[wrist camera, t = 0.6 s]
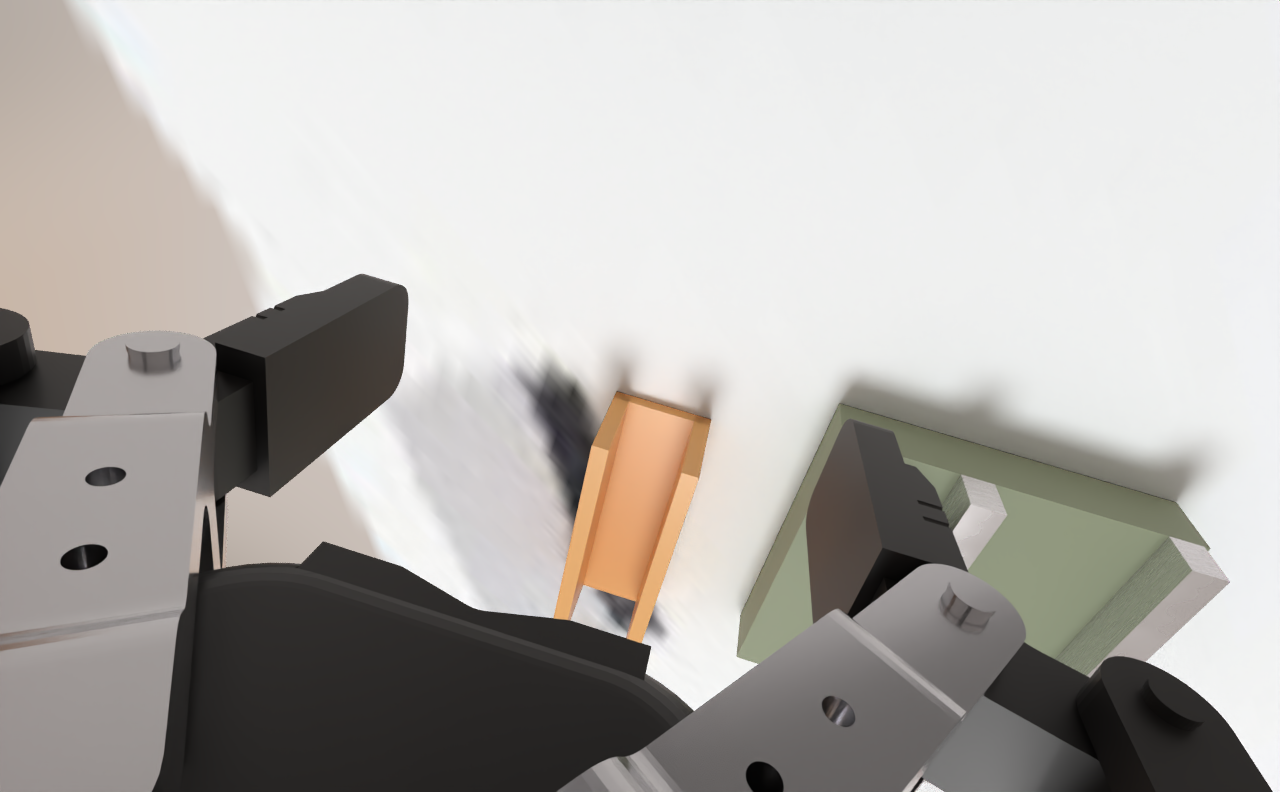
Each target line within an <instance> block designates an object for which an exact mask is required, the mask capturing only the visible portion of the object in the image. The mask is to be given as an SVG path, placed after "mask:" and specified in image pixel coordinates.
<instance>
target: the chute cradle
mask: <svg viewBox="0 0 1280 792" xmlns="http://www.w3.org/2000/svg"><path fill="white" fill-rule="evenodd" d="M942 507H943V508H942V511H944V512H945V514H946V517H947V519H948V522H949V528H951V529H952V532H953V534H954V537H955V539H956V542H957V544H958V547H959V549H960V552H961V555H962V557H963V560H964V562H965V565H966V567H967V570H968V569H969V567H970V566H971V565H972V563H973V562H974V561H975V559H976V558H977V556H978V555H979V554H980V552H981V551H982V550H983V548H984V547H985V545H986V544H987V543H988V541H989V540H990V538H991V537H992V536H993V534H994V533H995V532H996V530H997V529H998V527H999V526H1000V525H1001V523H1002V522H1003V520H1004V519H1005V518H1006V516H1007V513H1006V511H1005V508H1004V506H1003V503H1002V501H1001V498H1000V495H999V493H998V490H997V488H996V485H995V484H992V483H988V482H985V481H982V480H978V479H975V478H972V477H968V476H965V475H962V474H961V475H960V477H959V478H958V480H957V481H956V483H955V484H954V486H953V488H952V489H951V491H950V492H949V494H948V495H947V497H946V499H945V500H944V502H943V503H942ZM1229 583H1230V581H1229V580H1228V578H1227V577H1226V576H1225V574H1224V573H1223V571H1222V570H1221V569H1220V567H1219V566H1218V565H1217V563H1216V562H1215V560H1214V559H1213V558H1212V556H1211V555H1210V554H1209V552H1208V551H1207V550H1206V548H1205V547H1204V546H1200V545H1197V544H1193V543H1190V542H1187V541H1183V540H1180V539H1177V538H1173V537H1170V536H1169V537H1168V538H1167V539H1166V540H1165V541H1164V542H1163V543H1162V544H1161V545H1160V547H1159V548H1158V549H1157V550H1156V551H1155V552H1154V553H1153V554H1152V555H1151V556H1150V557H1149V558H1148V559H1147V560H1146V562H1145V563H1144V564H1143V565H1142V566H1141V567H1140V568H1139V569H1138V570H1137V571H1136V572H1135V573H1134V574H1133V575H1132V577H1131V578H1130V579H1129V580H1128V581H1127V582H1126V583H1125V584H1124V585H1123V586H1122V587H1121V588H1120V589H1119V590H1118V592H1117V593H1116V594H1115V595H1114V596H1113V597H1112V598H1111V599H1110V600H1109V601H1108V602H1107V603H1106V604H1105V605H1104V607H1103V608H1102V609H1101V610H1100V611H1099V612H1098V613H1097V614H1096V615H1095V616H1094V617H1093V618H1092V619H1091V620H1090V622H1089V623H1088V624H1087V625H1086V626H1085V627H1084V628H1083V629H1082V630H1081V631H1080V632H1079V633H1078V634H1077V635H1076V637H1075V638H1074V639H1073V640H1072V641H1071V642H1070V643H1069V644H1068V645H1067V646H1066V647H1065V648H1064V649H1063V650H1062V652H1061V653H1060V654H1059V655H1058V656H1057V657H1056V658H1055V660H1057V661H1059V662H1061V663H1063V664H1065V665H1067V666H1069V667H1071V668H1073V669H1074V670H1076V671H1078V672H1080V673H1082V674H1084V675H1086V676H1088V677H1091V676H1092V675H1093V673H1094V672H1095V671H1096V670H1097V669H1098V667H1099V666H1100V665H1101V664H1102V662H1103V661H1104V660H1106V659H1107V658H1109V657H1113V656H1124V657H1130V658H1134V659H1138V660H1141V661H1144V662H1146V661H1147V660H1148V659H1149V658H1150V657H1151V656H1152V655H1153V654H1154V653H1155V652H1156V651H1157V650H1158V649H1159V648H1161V647H1162V646H1163V645H1164V644H1165V643H1166V642H1167V641H1168V640H1169V639H1170V638H1171V637H1172V636H1173V635H1174V634H1175V633H1176V632H1178V631H1179V630H1180V629H1181V628H1182V627H1183V626H1184V625H1185V624H1186V623H1187V622H1188V621H1189V620H1190V619H1191V618H1192V617H1193V616H1195V615H1196V614H1197V613H1198V612H1199V611H1200V610H1201V609H1202V608H1203V607H1204V606H1205V605H1206V604H1207V603H1208V602H1209V601H1211V600H1212V599H1213V598H1214V597H1215V596H1216V595H1217V594H1218V593H1219V592H1220V591H1221V590H1222V589H1223V588H1224V587H1225V586H1226V585H1228V584H1229Z"/></svg>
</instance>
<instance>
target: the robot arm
mask: <svg viewBox="0 0 1280 792" xmlns="http://www.w3.org/2000/svg"><path fill="white" fill-rule="evenodd" d="M407 315H408V293H407V290H406V288H405V287H404V286H402V285H399V284H396V283H392V282H389V281H386V280H382V279H379V278H375V277H372V276H369V275H365V274H359V275H356V276H354V277H352V278H350V279H348V280H346V281H344V282H342V283H340V284H337V285H335V286H333V287H331V288H329V289H327V290H325V291H321V292H315V293H310V294H304V295H299V296H295V297H293V298H291V299H289V300H286V301H284V302H282V303H280V304H278V305H275V307H274V309H273V308H269V309H267V310H264V311H262V312H260V313H258V314H257V315H256V317H253V316H251V317H249V318H247V319H245V320H243V321H240V322H238V323H236V324H234V325H232V326H229V327H227V328H225V329H223V330H221V331H218V332H216V333H214V334H212V335H210V336H207V337H205V338H203V339H202V338H200V337H198V336H194V335H191V334H186V333H181V332H172V331H143V332H133V333H127V334H122V335H118V336H114V337H111V338H108V339H106V340H103V341H101V342H99V343H98V344H96V345H94V346H93V347H92V348H91V349H90V350H89V352H88V353H87V355H86V356H81V355H72V354H64V353H55V352H48V351H38V350H35V348H34V344H33V339H32V334H31V330H30V325H29V322H28V321H27V319H26V318H25V317H23V316H22V315H20V314H18V313H16V312H13V311H10V310H6V309H2V308H0V792H916V791H917V790H918V788H919V787H920V786H921V784H922V783H923V782H924V780H927V781H928V782H930V783H932V784H933V785H935V786H936V787H938V788H940V789H941V790H943V791H944V792H1273V791H1272V790H1271V788H1270V787H1269V785H1268V784H1267V782H1266V781H1265V779H1264V778H1263V776H1262V775H1261V773H1260V771H1259V770H1258V768H1257V767H1256V765H1255V764H1254V762H1253V761H1252V759H1251V758H1250V756H1249V755H1248V753H1247V751H1246V750H1245V748H1244V747H1243V745H1242V744H1241V742H1240V741H1239V739H1238V738H1237V736H1236V734H1235V733H1234V731H1233V730H1232V729H1231V727H1230V726H1229V724H1228V723H1227V722H1226V721H1225V719H1224V718H1223V717H1222V716H1221V715H1220V714H1219V713H1218V711H1217V710H1216V709H1215V708H1214V707H1212V706H1211V705H1210V704H1209V703H1208V702H1207V701H1206V700H1205V699H1204V698H1203V697H1201V696H1200V695H1199V694H1198V693H1197V692H1195V691H1194V690H1193V689H1191V688H1190V687H1189V686H1187V685H1186V684H1185V683H1183V682H1182V681H1180V680H1179V679H1177V678H1176V677H1174V676H1172V675H1171V674H1169V673H1167V672H1165V671H1164V670H1162V669H1160V668H1157V667H1155V666H1153V665H1151V664H1149V663H1146V662H1144V661H1141V660H1138V659H1134V658H1130V657H1124V656H1113V657H1109V658H1107V659H1106V660H1104V661H1103V662H1102V664H1101V665H1100V666H1099V667H1098V669H1097V670H1096V671H1095V672H1094V673H1093V675H1092V676H1091V677H1088V676H1086V675H1084V674H1082V673H1080V672H1078V671H1076V670H1074V669H1073V668H1071V667H1069V666H1067V665H1065V664H1063V663H1061V662H1059V661H1057V660H1055V659H1053V658H1052V657H1050V656H1048V655H1046V654H1044V653H1042V652H1040V651H1038V650H1037V649H1035V648H1033V647H1031V646H1030V645H1028V644H1026V643H1025V642H1024V641H1025V639H1026V628H1025V625H1024V622H1023V620H1022V618H1021V616H1020V615H1019V613H1018V611H1017V610H1016V609H1015V608H1014V606H1013V605H1012V604H1011V603H1010V602H1009V601H1008V600H1007V599H1006V598H1005V597H1004V596H1003V595H1002V594H1001V593H1000V592H998V591H997V590H996V589H995V588H993V587H992V586H990V585H989V584H988V583H986V582H984V581H983V580H981V579H980V578H978V577H976V576H974V575H972V574H970V573H969V572H968V570H967V567H966V565H965V562H964V560H963V557H962V555H961V552H960V549H959V547H958V544H957V542H956V539H955V537H954V534H953V532H952V529H951V528H949V522H948V519H947V517H946V514H945V512H944V511H942V508H943V507H942V504H941V501H940V499H939V496H938V494H937V491H936V489H935V487H934V486H933V485H932V484H931V483H930V482H929V481H928V479H927V478H926V477H925V476H924V475H923V474H922V473H921V472H920V471H919V470H918V468H917V467H915V466H911V465H908V464H905V463H904V460H903V457H902V454H901V451H900V448H899V445H898V442H897V440H896V437H895V434H894V432H893V431H891V430H888V429H885V428H881V427H878V426H874V425H871V424H868V423H864V422H861V421H858V420H854V419H851V418H850V419H848V420H847V421H846V422H845V423H844V424H843V426H842V428H841V430H840V432H839V434H838V436H837V439H836V441H835V443H834V445H833V448H832V450H831V452H830V454H829V457H828V459H827V461H826V464H825V466H824V468H823V470H822V473H821V475H820V477H819V479H818V482H817V484H816V486H815V488H814V491H813V493H812V496H811V499H810V502H809V506H808V511H807V516H806V536H807V550H808V563H809V577H810V591H811V604H812V618H813V625H811V626H810V627H809V628H807V629H806V630H804V631H803V632H802V633H800V634H799V635H798V636H796V637H795V638H794V639H792V640H791V641H789V642H788V643H787V644H785V645H784V646H783V647H781V648H780V649H779V650H777V651H776V652H774V653H773V654H772V655H770V656H769V657H768V658H766V659H765V660H763V661H762V662H761V663H759V664H758V665H757V666H755V667H754V668H753V669H751V670H750V671H748V672H747V673H746V674H744V675H743V676H742V677H740V678H739V679H737V680H736V681H735V682H733V683H732V684H731V685H729V686H728V687H727V688H725V689H724V690H722V691H721V692H720V693H718V694H717V695H716V696H714V697H713V698H712V699H710V700H709V701H707V702H706V703H705V704H703V705H702V706H701V707H699V708H698V709H697V710H695V711H693V710H692V709H691V708H690V707H689V706H688V705H687V704H686V703H685V702H684V701H683V700H681V699H680V698H679V697H678V696H677V695H676V694H674V693H673V692H672V691H670V690H669V689H668V688H666V687H665V686H664V685H662V684H661V683H659V682H658V681H656V680H655V679H653V678H652V677H650V676H648V675H647V674H645V673H646V669H647V664H648V659H649V655H650V650H651V646H648V645H645V644H642V643H639V642H636V641H633V640H630V639H627V638H623V637H620V636H617V635H614V634H611V633H608V632H605V631H602V630H598V629H595V628H592V627H589V626H586V625H583V624H580V623H577V622H573V621H570V620H564V619H554V618H545V617H536V616H526V615H517V614H508V613H498V612H489V611H482V610H477V609H474V608H472V607H470V606H468V605H466V604H464V603H463V602H461V601H459V600H458V599H456V598H454V597H452V596H451V595H449V594H447V593H446V592H444V591H442V590H441V589H439V588H437V587H436V586H434V585H432V584H430V583H429V582H427V581H425V580H424V579H422V578H420V577H419V576H417V575H415V574H414V573H412V572H410V571H408V570H407V569H405V568H403V567H402V566H398V565H395V564H392V563H389V562H386V561H383V560H380V559H377V558H373V557H370V556H367V555H364V554H361V553H357V552H355V551H351V550H348V549H345V548H342V547H339V546H336V545H333V544H330V543H327V542H322V543H321V544H320V545H319V546H318V547H317V548H316V549H315V550H314V552H312V554H310V555H309V557H308V558H307V559H306V560H305V561H304V562H303V563H302V564H295V563H260V564H246V565H239V566H232V567H226V548H227V547H226V545H227V521H228V506H227V493H228V492H229V491H231V490H232V489H233V488H235V487H240V488H243V489H246V490H249V491H252V492H255V493H259V494H262V495H265V496H268V497H271V496H272V495H273V494H274V493H276V492H277V491H278V490H279V489H281V488H282V487H283V486H284V485H285V484H287V483H288V482H289V481H290V480H291V479H293V478H294V477H295V476H296V475H297V474H299V473H300V472H301V471H302V470H303V469H305V468H306V467H307V466H308V465H309V464H311V463H312V462H313V461H314V460H315V459H317V458H318V457H319V456H320V455H321V454H323V453H324V452H325V451H326V450H327V449H329V448H330V447H331V446H332V445H333V444H335V443H336V442H337V441H338V440H339V439H341V438H342V437H343V436H344V435H346V434H347V433H348V432H349V431H350V430H352V429H353V428H354V427H355V426H356V425H358V424H359V423H360V422H361V421H362V420H364V419H365V418H366V417H367V416H368V415H370V414H371V413H372V412H373V411H374V410H376V409H377V408H378V407H379V406H380V405H382V404H383V403H384V402H385V401H386V400H388V399H389V398H390V397H391V396H392V394H393V393H394V392H395V390H396V388H397V386H398V384H399V382H400V379H401V376H402V373H403V367H404V355H405V342H406V328H407Z"/></svg>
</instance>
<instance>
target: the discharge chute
mask: <svg viewBox="0 0 1280 792" xmlns="http://www.w3.org/2000/svg"><path fill="white" fill-rule="evenodd" d="M710 422H711V419H708V418H704V417H701V416H698V415H694V414H691V413H688V412H684V411H681V410H678V409H674V408H671V407H668V406H664V405H661V404H658V403H654V402H651V401H648V400H644V399H641V398H638V397H634V396H631V395H628V394H624V393H621V392H616V394H615V396H614V398H613V400H612V402H611V405H610V407H609V409H608V411H607V413H606V416H605V418H604V420H603V422H602V424H601V427H600V429H599V431H598V433H597V435H596V437H595V440H594V442H593V444H592V447H591V451H590V456H589V460H588V465H587V469H586V474H585V479H584V483H583V488H582V492H581V497H580V501H579V506H578V510H577V515H576V519H575V524H574V528H573V533H572V537H571V542H570V546H569V551H568V555H567V560H566V564H565V569H564V573H563V578H562V582H561V587H560V591H559V596H558V600H557V605H556V609H555V614H554V619H564V620H571V617H572V614H573V612H574V609H575V606H576V603H577V601H578V598H579V595H580V592H581V590H582V587H583V585H586V586H589V587H592V588H595V589H598V590H601V591H605V592H608V593H611V594H614V595H617V596H620V597H624V598H627V599H630V600H633V601H636V603H635V607H634V611H633V615H632V618H631V622H630V626H629V630H628V633H627V637H626V638H627V639H630V640H633V641H636V642H639V643H642V640H643V637H644V634H645V631H646V628H647V625H648V623H649V620H650V617H651V614H652V611H653V608H654V605H655V603H656V600H657V597H658V594H659V591H660V588H661V585H662V583H663V580H664V577H665V574H666V571H667V568H668V565H669V563H670V560H671V557H672V554H673V551H674V548H675V545H676V542H677V540H678V537H679V534H680V531H681V528H682V525H683V522H684V520H685V517H686V514H687V511H688V508H689V505H690V502H691V500H692V497H693V494H694V491H695V488H696V485H697V482H698V480H699V476H700V471H701V466H702V461H703V456H704V451H705V447H706V442H707V437H708V432H709V427H710Z"/></svg>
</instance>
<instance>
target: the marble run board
mask: <svg viewBox="0 0 1280 792" xmlns="http://www.w3.org/2000/svg"><path fill="white" fill-rule="evenodd" d="M850 418H851V419H854V420H858V421H861V422H864V423H868V424H871V425H874V426H878V427H881V428H885V429H888V430H891V431H893V432H894V434H895V437H896V440H897V442H898V445H899V448H900V451H901V454H902V457H903V460H904V463H905V464H908V465H911V466H915V467H917V468H918V470H919V471H920V472H921V473H922V474H923V475H924V476H925V477H926V478H927V479H928V481H929V482H930V483H931V484H932V485H933V486H934V487H935V489H936V491H937V494H938V496H939V499H940V501H941V504H942V503H943V502H944V500H945V499H946V497H947V495H948V494H949V492H950V491H951V489H952V488H953V486H954V484H955V483H956V481H957V480H958V478H959V477H960V475H961V474H962V475H965V476H968V477H972V478H975V479H978V480H982V481H985V482H988V483H992V484H995V485H996V488H997V490H998V493H999V495H1000V498H1001V501H1002V503H1003V506H1004V508H1005V511H1006V513H1007V516H1006V518H1005V519H1004V520H1003V522H1002V523H1001V525H1000V526H999V527H998V529H997V530H996V532H995V533H994V534H993V536H992V537H991V538H990V540H989V541H988V543H987V544H986V545H985V547H984V548H983V550H982V551H981V552H980V554H979V555H978V556H977V558H976V559H975V561H974V562H973V563H972V565H971V566H970V567H969V569H968V572H969V573H970V574H972V575H974V576H976V577H978V578H980V579H981V580H983V581H984V582H986V583H988V584H989V585H990V586H992V587H993V588H995V589H996V590H997V591H998V592H1000V593H1001V594H1002V595H1003V596H1004V597H1005V598H1006V599H1007V600H1008V601H1009V602H1010V603H1011V604H1012V605H1013V606H1014V608H1015V609H1016V610H1017V611H1018V613H1019V615H1020V616H1021V618H1022V620H1023V622H1024V625H1025V628H1026V639H1025V641H1024V642H1025V643H1026V644H1028V645H1030V646H1031V647H1033V648H1035V649H1037V650H1038V651H1040V652H1042V653H1044V654H1046V655H1048V656H1050V657H1052V658H1053V659H1055V658H1056V657H1057V656H1058V655H1059V654H1060V653H1061V652H1062V650H1063V649H1064V648H1065V647H1066V646H1067V645H1068V644H1069V643H1070V642H1071V641H1072V640H1073V639H1074V638H1075V637H1076V635H1077V634H1078V633H1079V632H1080V631H1081V630H1082V629H1083V628H1084V627H1085V626H1086V625H1087V624H1088V623H1089V622H1090V620H1091V619H1092V618H1093V617H1094V616H1095V615H1096V614H1097V613H1098V612H1099V611H1100V610H1101V609H1102V608H1103V607H1104V605H1105V604H1106V603H1107V602H1108V601H1109V600H1110V599H1111V598H1112V597H1113V596H1114V595H1115V594H1116V593H1117V592H1118V590H1119V589H1120V588H1121V587H1122V586H1123V585H1124V584H1125V583H1126V582H1127V581H1128V580H1129V579H1130V578H1131V577H1132V575H1133V574H1134V573H1135V572H1136V571H1137V570H1138V569H1139V568H1140V567H1141V566H1142V565H1143V564H1144V563H1145V562H1146V560H1147V559H1148V558H1149V557H1150V556H1151V555H1152V554H1153V553H1154V552H1155V551H1156V550H1157V549H1158V548H1159V547H1160V545H1161V544H1162V543H1163V542H1164V541H1165V540H1166V539H1167V538H1168V537H1169V536H1170V537H1173V538H1177V539H1180V540H1183V541H1187V542H1190V543H1193V544H1197V545H1200V546H1204V547H1205V548H1206V550H1207V551H1208V550H1209V549H1210V547H1209V546H1208V545H1207V543H1206V542H1205V541H1204V539H1203V538H1202V536H1201V535H1200V534H1199V532H1198V531H1197V530H1196V528H1195V527H1194V526H1193V524H1192V523H1191V522H1190V520H1189V519H1188V518H1187V516H1186V515H1185V513H1184V512H1183V511H1182V509H1181V508H1180V507H1179V505H1178V504H1177V503H1176V502H1172V501H1169V500H1165V499H1162V498H1159V497H1155V496H1152V495H1148V494H1145V493H1142V492H1138V491H1135V490H1131V489H1128V488H1125V487H1121V486H1118V485H1114V484H1111V483H1108V482H1104V481H1101V480H1097V479H1094V478H1091V477H1087V476H1084V475H1081V474H1077V473H1074V472H1070V471H1067V470H1064V469H1060V468H1057V467H1053V466H1050V465H1047V464H1043V463H1040V462H1036V461H1033V460H1030V459H1026V458H1023V457H1019V456H1016V455H1013V454H1009V453H1006V452H1002V451H999V450H996V449H992V448H989V447H985V446H982V445H979V444H975V443H972V442H968V441H965V440H962V439H958V438H955V437H951V436H948V435H945V434H941V433H938V432H935V431H931V430H928V429H924V428H921V427H918V426H914V425H911V424H907V423H904V422H901V421H897V420H894V419H890V418H887V417H884V416H880V415H877V414H873V413H870V412H867V411H863V410H860V409H856V408H853V407H850V406H846V405H843V404H839V405H838V407H837V410H836V412H835V414H834V416H833V418H832V420H831V422H830V425H829V427H828V429H827V431H826V433H825V435H824V437H823V440H822V442H821V444H820V446H819V448H818V450H817V452H816V455H815V457H814V459H813V461H812V463H811V465H810V467H809V470H808V472H807V474H806V476H805V478H804V480H803V482H802V485H801V487H800V489H799V491H798V493H797V495H796V497H795V500H794V502H793V504H792V506H791V508H790V510H789V512H788V515H787V517H786V519H785V521H784V523H783V525H782V527H781V530H780V532H779V534H778V536H777V538H776V540H775V542H774V545H773V547H772V549H771V551H770V553H769V555H768V557H767V560H766V562H765V564H764V566H763V568H762V570H761V572H760V575H759V577H758V579H757V581H756V583H755V585H754V587H753V590H752V592H751V594H750V596H749V598H748V600H747V602H746V605H745V607H744V609H743V611H742V613H741V615H740V626H739V636H738V647H737V657H739V658H742V659H745V660H748V661H751V662H754V663H757V664H759V663H761V662H762V661H763V660H765V659H766V658H768V657H769V656H770V655H772V654H773V653H774V652H776V651H777V650H779V649H780V648H781V647H783V646H784V645H785V644H787V643H788V642H789V641H791V640H792V639H794V638H795V637H796V636H798V635H799V634H800V633H802V632H803V631H804V630H806V629H807V628H809V627H810V626H811V625H813V618H812V604H811V591H810V577H809V563H808V550H807V536H806V516H807V511H808V506H809V502H810V499H811V496H812V493H813V491H814V488H815V486H816V484H817V482H818V479H819V477H820V475H821V473H822V470H823V468H824V466H825V464H826V461H827V459H828V457H829V454H830V452H831V450H832V448H833V445H834V443H835V441H836V439H837V436H838V434H839V432H840V430H841V428H842V426H843V424H844V423H845V422H846V421H847V420H848V419H850Z"/></svg>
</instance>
